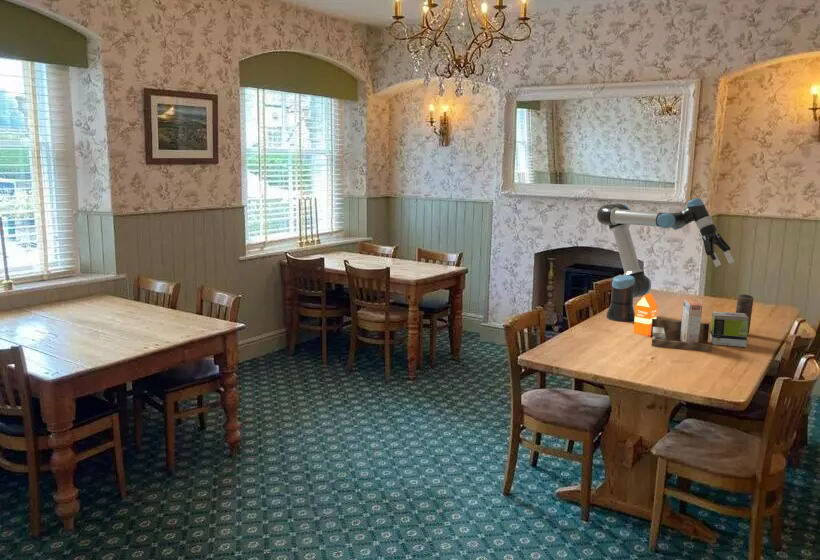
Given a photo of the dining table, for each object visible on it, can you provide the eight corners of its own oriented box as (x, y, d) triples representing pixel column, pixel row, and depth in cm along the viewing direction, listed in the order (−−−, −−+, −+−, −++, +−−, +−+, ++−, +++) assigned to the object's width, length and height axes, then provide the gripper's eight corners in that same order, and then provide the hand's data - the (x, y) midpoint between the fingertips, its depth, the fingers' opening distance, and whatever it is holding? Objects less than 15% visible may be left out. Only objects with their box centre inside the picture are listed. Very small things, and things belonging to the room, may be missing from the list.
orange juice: (655, 332, 341) (658, 294, 338) (647, 336, 335) (651, 296, 331) (640, 330, 346) (643, 292, 343) (632, 333, 340) (636, 294, 337)
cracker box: (698, 349, 313) (703, 305, 309) (684, 348, 314) (689, 304, 311) (692, 341, 327) (696, 299, 323) (679, 340, 328) (683, 298, 324)
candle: (749, 333, 344) (753, 295, 340) (749, 336, 337) (754, 297, 334) (732, 331, 347) (736, 293, 344) (732, 334, 341) (737, 296, 337)
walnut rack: (651, 345, 317) (653, 327, 315) (650, 336, 334) (652, 318, 333) (711, 351, 309) (713, 332, 308) (707, 341, 327) (709, 323, 325)
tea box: (742, 342, 326) (746, 312, 324) (746, 348, 317) (749, 317, 314) (709, 339, 331) (712, 310, 328) (711, 344, 321) (714, 314, 319)
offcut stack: (652, 344, 320) (653, 332, 319) (651, 338, 332) (652, 326, 330) (665, 345, 318) (666, 333, 317) (664, 339, 330) (665, 327, 329)
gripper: (699, 225, 333) (719, 263, 327) (724, 221, 348) (743, 258, 342) (687, 231, 338) (706, 270, 333) (712, 228, 353) (730, 264, 348)
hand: (725, 264), depth 337 cm, fingers open, 13 cm apart
